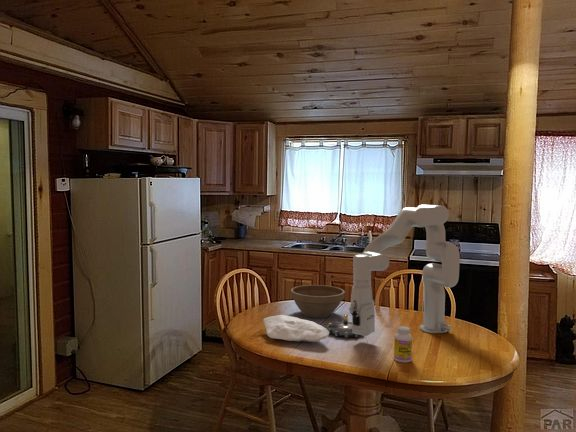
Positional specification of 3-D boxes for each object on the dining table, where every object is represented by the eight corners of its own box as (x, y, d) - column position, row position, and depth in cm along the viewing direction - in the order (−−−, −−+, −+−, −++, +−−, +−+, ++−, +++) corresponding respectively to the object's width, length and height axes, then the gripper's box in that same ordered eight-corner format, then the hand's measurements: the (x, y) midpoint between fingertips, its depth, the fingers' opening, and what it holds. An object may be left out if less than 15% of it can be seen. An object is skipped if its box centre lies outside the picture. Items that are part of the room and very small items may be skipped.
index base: (353, 332, 218) (353, 330, 218) (346, 335, 215) (346, 333, 215) (330, 325, 229) (330, 323, 229) (323, 327, 225) (323, 325, 225)
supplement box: (366, 336, 200) (366, 307, 199) (351, 333, 205) (351, 304, 203) (375, 331, 205) (374, 303, 204) (360, 328, 210) (360, 301, 209)
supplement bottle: (396, 363, 182) (396, 330, 181) (392, 356, 188) (393, 325, 187) (413, 363, 182) (414, 330, 181) (409, 356, 188) (409, 325, 187)
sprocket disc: (364, 325, 226) (364, 313, 226) (366, 338, 209) (367, 324, 208) (326, 324, 228) (326, 312, 228) (326, 336, 210) (326, 323, 210)
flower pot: (316, 304, 269) (316, 281, 268) (355, 315, 248) (355, 290, 247) (279, 313, 250) (279, 289, 249) (318, 325, 229) (318, 299, 228)
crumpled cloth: (282, 321, 231) (281, 303, 229) (344, 335, 210) (343, 315, 208) (251, 341, 213) (248, 322, 211) (315, 358, 192) (313, 337, 190)
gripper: (367, 278, 212) (367, 316, 214) (342, 285, 200) (342, 325, 202) (381, 281, 207) (381, 320, 208) (356, 288, 195) (356, 329, 196)
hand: (362, 322), depth 205 cm, fingers closed on supplement box, 7 cm apart
